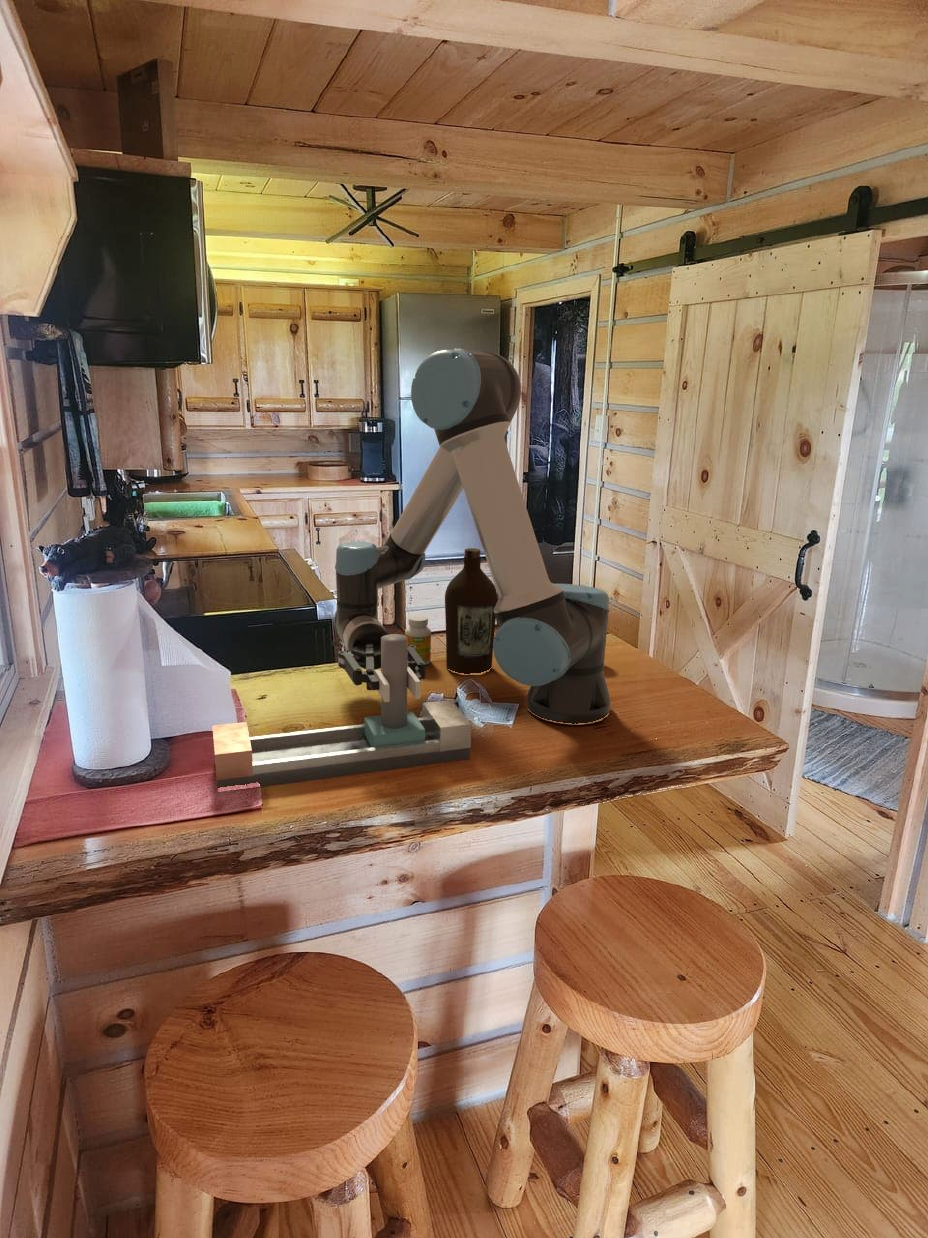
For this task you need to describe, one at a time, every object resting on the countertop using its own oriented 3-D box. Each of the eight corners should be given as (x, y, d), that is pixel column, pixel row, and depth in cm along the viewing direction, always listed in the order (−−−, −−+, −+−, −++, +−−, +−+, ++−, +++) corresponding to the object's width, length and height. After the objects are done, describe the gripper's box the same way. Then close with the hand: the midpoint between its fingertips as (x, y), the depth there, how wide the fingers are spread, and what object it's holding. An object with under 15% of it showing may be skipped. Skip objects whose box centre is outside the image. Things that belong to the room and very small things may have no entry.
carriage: (412, 728, 129) (413, 629, 124) (424, 747, 122) (426, 643, 117) (364, 734, 126) (363, 633, 121) (374, 753, 120) (373, 647, 115)
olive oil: (438, 661, 167) (440, 544, 160) (487, 658, 169) (491, 543, 162) (449, 679, 157) (452, 555, 150) (500, 676, 159) (505, 554, 152)
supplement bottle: (411, 668, 162) (411, 623, 160) (400, 659, 167) (401, 615, 164) (434, 664, 165) (435, 619, 162) (424, 656, 169) (424, 613, 167)
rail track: (450, 732, 133) (451, 699, 131) (470, 759, 124) (471, 724, 122) (215, 761, 121) (212, 725, 119) (217, 793, 112) (214, 754, 110)
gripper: (415, 659, 142) (457, 709, 120) (320, 667, 136) (345, 721, 115) (416, 619, 139) (458, 662, 118) (319, 626, 134) (344, 673, 113)
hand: (402, 691), depth 117 cm, fingers closed on carriage, 4 cm apart
